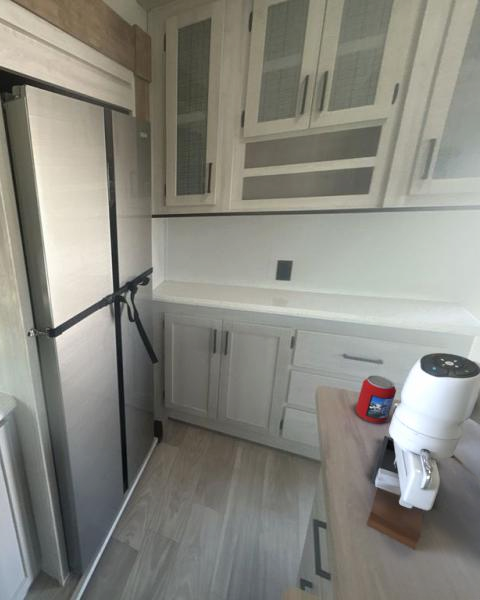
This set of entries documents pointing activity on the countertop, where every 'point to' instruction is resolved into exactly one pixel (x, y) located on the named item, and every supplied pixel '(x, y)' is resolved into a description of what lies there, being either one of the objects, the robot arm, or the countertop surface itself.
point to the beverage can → (376, 399)
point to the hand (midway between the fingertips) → (401, 485)
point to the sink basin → (386, 457)
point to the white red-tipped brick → (388, 481)
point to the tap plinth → (395, 518)
